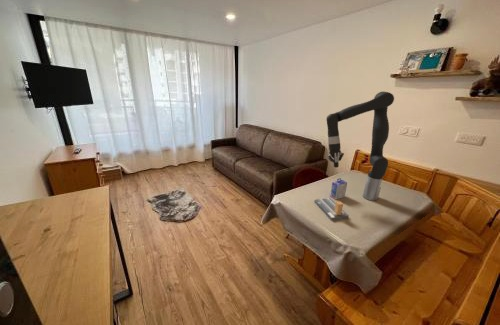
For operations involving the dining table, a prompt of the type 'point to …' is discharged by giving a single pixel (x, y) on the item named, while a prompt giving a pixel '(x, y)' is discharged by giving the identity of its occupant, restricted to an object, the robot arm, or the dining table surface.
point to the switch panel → (329, 209)
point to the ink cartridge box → (338, 189)
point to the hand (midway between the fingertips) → (336, 167)
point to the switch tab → (338, 208)
